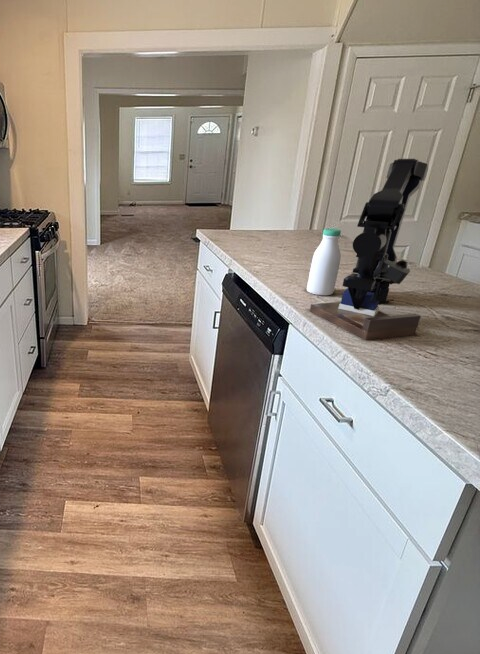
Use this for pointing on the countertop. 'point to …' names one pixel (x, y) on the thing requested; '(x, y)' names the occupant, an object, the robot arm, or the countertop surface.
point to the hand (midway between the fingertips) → (358, 306)
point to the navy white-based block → (367, 306)
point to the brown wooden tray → (368, 321)
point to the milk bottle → (325, 264)
